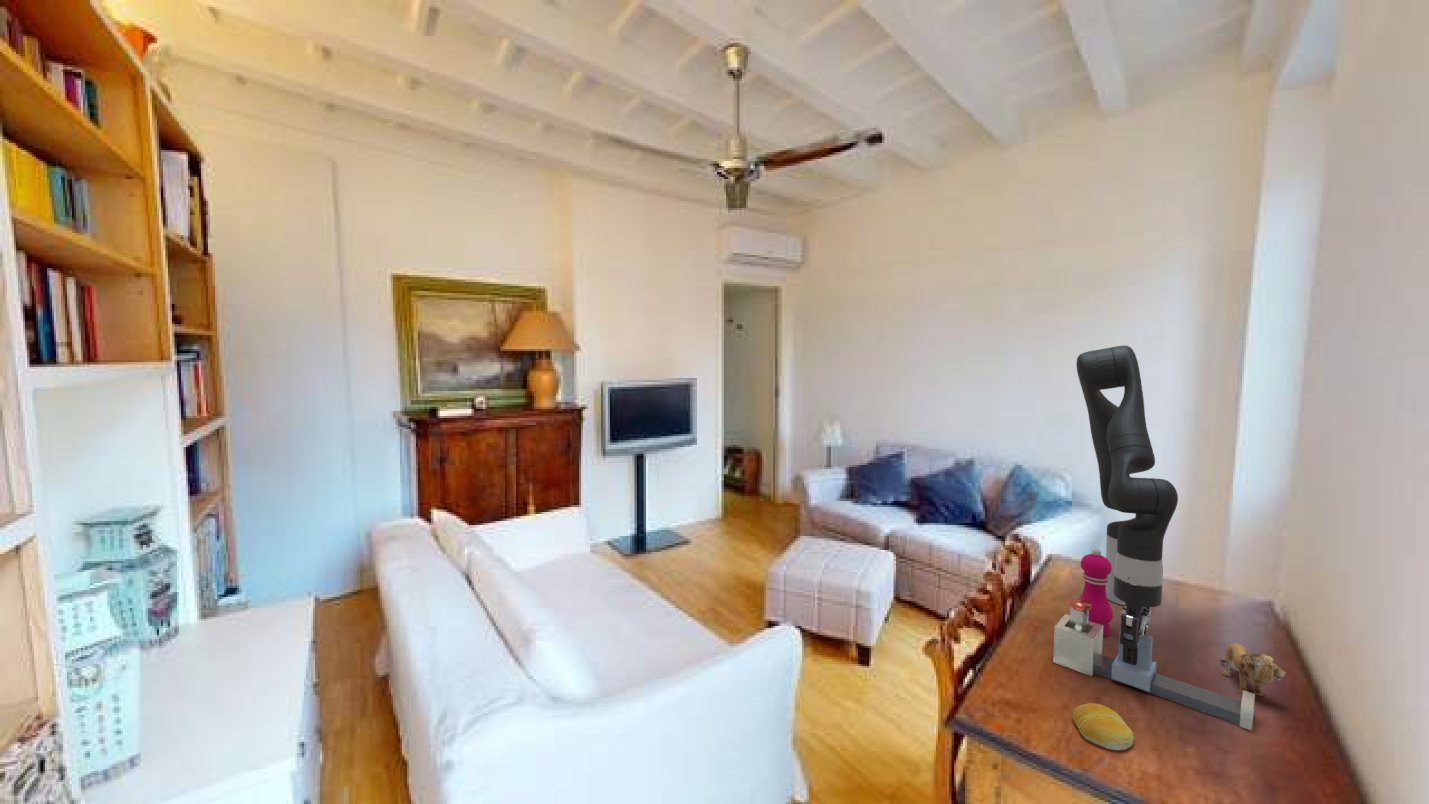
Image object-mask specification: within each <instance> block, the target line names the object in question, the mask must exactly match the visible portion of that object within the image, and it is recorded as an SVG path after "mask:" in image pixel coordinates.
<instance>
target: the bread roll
mask: <svg viewBox="0 0 1429 804" xmlns="http://www.w3.org/2000/svg"><path fill="white" fill-rule="evenodd" d="M1072 711H1073V712H1072V719H1073V722H1074V724H1075V725H1076V726H1077V728H1078V730H1079V732H1080V734H1081V735H1082V736H1083V738H1084V739H1085V740H1087V741H1089V742H1090V743H1093V744H1095V745H1097V746H1100V747H1102V748H1104V749H1108V750H1110V751H1111V750H1112V751H1125V750H1127V749H1129V748H1131V747H1132V746H1133V744H1134V740H1135V737H1134V735H1135V734H1134V732H1133V730H1132V729H1131V728H1130V727H1129V726H1128V725H1127V723H1126V722H1125V721H1124V719H1123V718H1122V717H1121V716H1120V715H1119V714H1118V713H1117V712H1116V711H1115V710H1114V709H1112V708H1110V707H1107V706H1105V705H1104V704H1100V703H1093V702H1091V703H1090V702H1089V703H1084V704H1080V705H1077V706H1076V707H1075V708H1074V709H1073V710H1072Z"/></svg>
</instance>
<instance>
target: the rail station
mask: <svg viewBox="0 0 1429 804" xmlns="http://www.w3.org/2000/svg"><path fill="white" fill-rule="evenodd" d="M1053 631H1054V633H1053V654H1052V655H1053V657H1052V658H1053V659H1052V660H1053V663H1054V664H1057V665H1059V666H1062V667H1065V668H1067V667H1068V669H1071V670H1073V671H1077V672H1078V673H1079V672H1080V673H1082V674H1084V675H1087V676H1090V677H1093V676H1094V674H1095V675H1097V676H1101V677H1103V678H1105V679H1109V680H1111V681H1115V682H1117V683H1120V684H1122V685H1125V686H1128V687H1131V688H1134V689H1138V690H1140V691H1143V692H1145V693H1148V694H1152V695H1153V694H1155V695H1154V696H1156V697H1159V696H1161V697H1160V698H1162V699H1165V700H1167V699H1168V701H1171V702H1174V703H1176V704H1179V705H1181V706H1185V707H1187V706H1188V707H1187V708H1191V709H1193V708H1195V709H1194V710H1196V709H1197V710H1196V711H1198V710H1199V711H1198V712H1201V711H1204V712H1205V713H1204V712H1203V713H1204V714H1207V713H1208V714H1207V715H1210V714H1211V715H1210V716H1212V715H1213V717H1215V716H1217V717H1216V718H1218V717H1220V718H1219V719H1221V718H1222V720H1224V719H1226V720H1228V721H1227V722H1229V721H1231V722H1230V723H1232V722H1234V723H1233V724H1235V723H1236V724H1235V725H1238V726H1239V728H1243V729H1245V730H1247V731H1250V732H1251V731H1252V732H1253V724H1254V723H1253V722H1254V715H1255V713H1254V711H1255V702H1256V701H1255V700H1256V699H1255V698H1256V694H1255V693H1253V692H1250V691H1248V692H1247V691H1244V690H1243V694H1242V695H1241V700H1238V699H1235V698H1233V697H1230V696H1227V695H1223V694H1221V693H1217V692H1214V691H1211V690H1209V689H1205V688H1202V687H1199V686H1195V685H1193V684H1190V683H1187V682H1184V681H1182V680H1181V681H1180V680H1179V679H1174V678H1172V677H1169V676H1166V675H1162V674H1159V673H1157V672H1156V673H1155V674H1154V676H1153V678H1152V681H1151V685H1150V692H1148V691H1145V690H1142V689H1140V688H1137V687H1134V686H1131V685H1128V684H1125V683H1123V682H1120V681H1117V680H1114V679H1111V676H1112V663H1113V662H1114V660H1115V658H1111V657H1110V656H1109V657H1108V656H1105V655H1103V643H1104V636H1103V625H1101V624H1097V623H1094V622H1091V621H1088V631H1087V632H1082V631H1078V630H1075V629H1072V628H1070V614H1066V613H1065V614H1064V615H1063V616H1062V617H1061V618H1060V620H1059V621H1058V622H1057V623H1056V624H1055V626H1054V630H1053ZM1226 720H1225V721H1226Z"/></svg>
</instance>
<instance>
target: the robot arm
mask: <svg viewBox="0 0 1429 804" xmlns="http://www.w3.org/2000/svg"><path fill="white" fill-rule="evenodd" d="M1076 372H1077V377H1078V381H1079V383H1080V388H1081V390H1082V391H1081V392H1082V393H1083V397H1084V401H1085V404H1086V408H1087V409H1086V410H1087V413H1088V420H1089V421H1088V422H1089V427H1090V434H1091V438H1092V444H1093V447H1094V452H1095V455H1096V456H1095V457H1096V461H1097V465H1098V473H1099V475H1098V476H1099V484H1100V485H1099V486H1100V494H1101V496H1100V497H1101V500H1102V503H1103V505H1104V506H1105V507H1106V508H1107V509H1110V510H1114V511H1118V512H1120V513H1125V514H1135V517H1133V518H1131V519H1127V520H1118V521H1112V522H1109V523H1108V524H1107V526H1106V542H1105V543H1106V544H1105V545H1106V546H1105V558H1107V559H1108V560H1109V561H1110V563H1111V566H1112V571H1111V573H1110V574H1109V575H1108V578H1109V579H1108V582H1109V583H1108V584H1106V596H1107V599H1108V601H1111V602H1112V603H1114V604H1118V605H1121V606H1124V607H1122V610H1121V615H1120V618H1121V619H1120V622H1121V623H1120V630H1121V634H1120V644H1123V661H1124V662H1125V663H1128V664H1131V665H1136V664H1137V659H1138V646H1139V639H1140V637H1143V636H1144V635H1147V631H1148V629H1149V626H1150V623H1151V613H1152V612H1151V608H1157V607H1159V606H1161V605H1162V603H1163V602H1162V600H1163V581H1164V579H1163V578H1164V566H1163V550H1164V548H1163V546H1164V540H1165V539H1164V538H1165V535H1166V532H1167V530H1168V527H1169V525H1170V522H1171V519H1172V518H1173V516H1174V513H1175V511H1176V509H1177V506H1178V501H1179V495H1178V491H1177V489H1176V488H1175V485H1174V484H1172V482H1170V481H1169V480H1167V479H1163V478H1154V477H1150V478H1149V477H1131V476H1130V475H1131V474H1138V473H1143V472H1147V471H1149V470H1151V469H1153V468H1154V466H1155V464H1156V458H1155V453H1154V450H1153V445H1152V442H1151V439H1150V436H1149V432H1148V428H1147V421H1146V413H1145V411H1146V410H1145V401H1144V391H1143V385H1142V378H1141V372H1140V367H1139V362H1138V358H1137V355H1136V352H1135V351H1134V350H1133V348H1132V347H1131V346H1129V345H1118V346H1112V347H1106V348H1101V349H1096V350H1095V349H1093V350H1088V351H1085V352H1082V353H1080V354H1079V355H1078V356H1077V358H1076ZM1115 388H1124V393H1123V397H1122V399H1121V401H1120V404H1119V406H1117V405H1116V404H1114V403H1113V402H1112V401H1110V400H1109V399H1108V398H1107V397H1106V396H1105V395H1104V394H1103V393H1102V390H1110V389H1115ZM1127 634H1129V635H1132V636H1133V640H1131V639H1128V638H1127Z"/></svg>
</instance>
